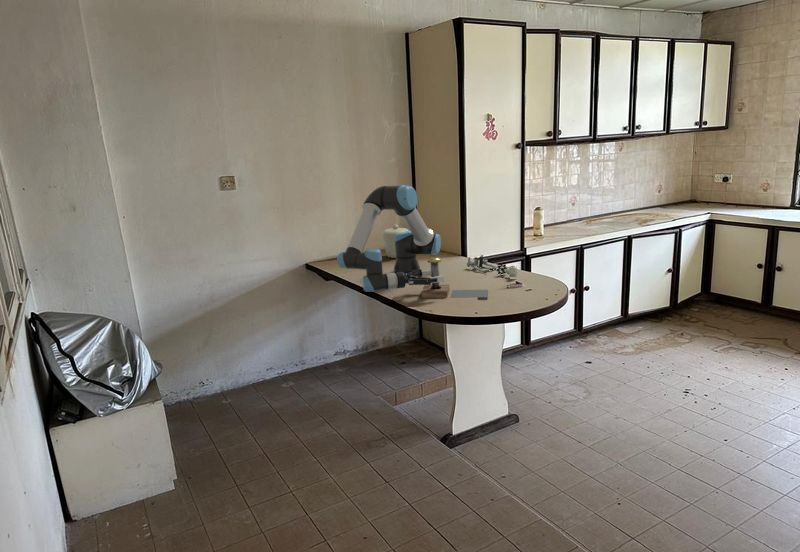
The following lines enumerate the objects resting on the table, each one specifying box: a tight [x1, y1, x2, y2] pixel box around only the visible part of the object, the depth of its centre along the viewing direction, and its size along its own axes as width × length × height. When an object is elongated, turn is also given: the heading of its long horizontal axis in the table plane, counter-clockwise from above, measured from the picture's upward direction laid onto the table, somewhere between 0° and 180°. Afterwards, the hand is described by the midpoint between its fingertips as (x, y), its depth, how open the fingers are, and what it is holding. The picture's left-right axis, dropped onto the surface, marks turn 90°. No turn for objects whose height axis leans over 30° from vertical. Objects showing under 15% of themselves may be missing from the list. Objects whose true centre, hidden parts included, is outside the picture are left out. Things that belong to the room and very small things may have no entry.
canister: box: [381, 224, 410, 259], centre depth 360 cm, size 18×18×21 cm
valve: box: [495, 263, 518, 278], centre depth 294 cm, size 7×7×12 cm
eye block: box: [421, 283, 450, 299], centre depth 268 cm, size 12×12×4 cm
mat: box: [450, 289, 489, 300], centre depth 265 cm, size 13×17×1 cm
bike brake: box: [466, 254, 498, 274], centre depth 313 cm, size 14×7×20 cm
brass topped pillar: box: [426, 256, 442, 289], centre depth 266 cm, size 6×6×17 cm
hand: (439, 275), depth 266 cm, fingers open, 13 cm apart
